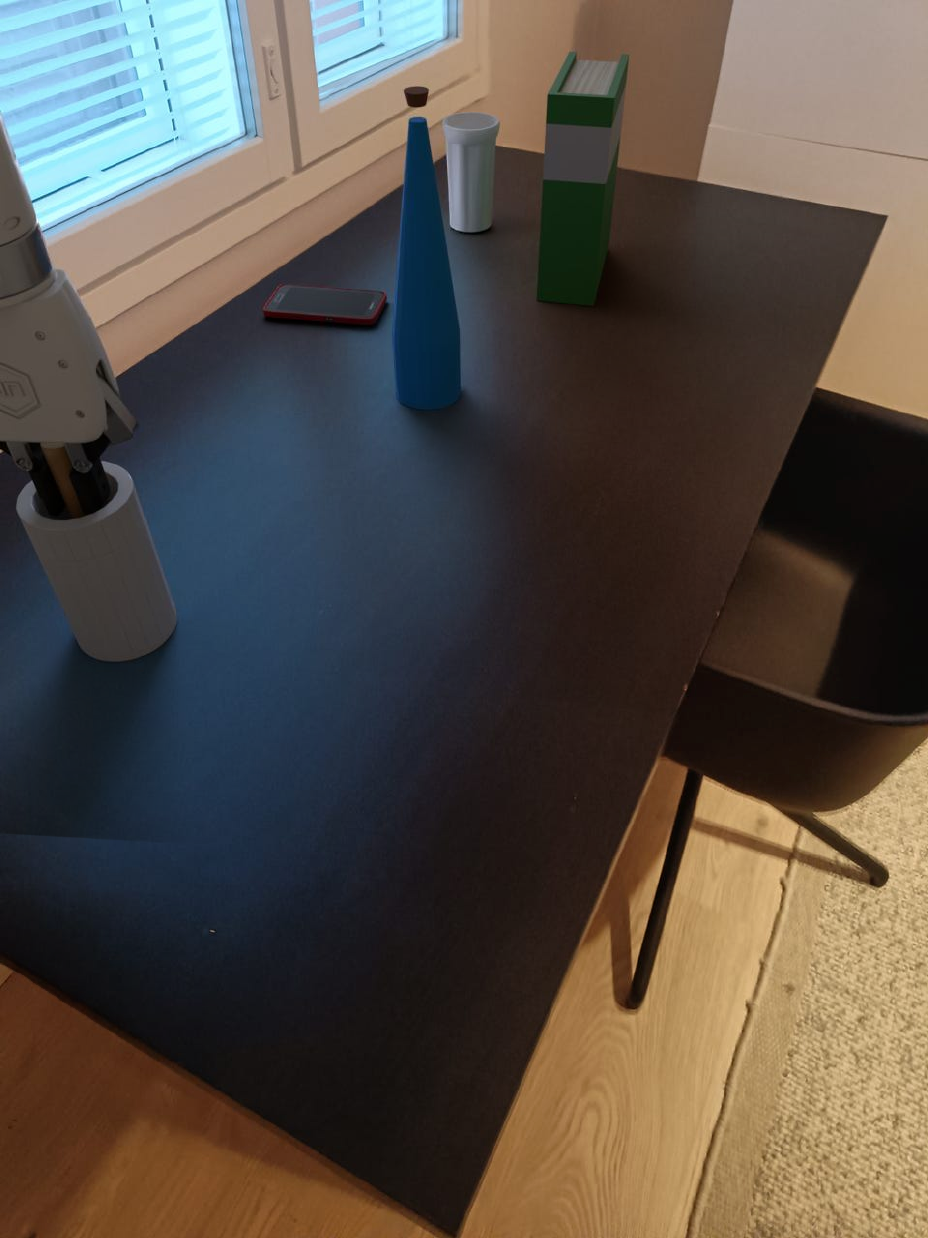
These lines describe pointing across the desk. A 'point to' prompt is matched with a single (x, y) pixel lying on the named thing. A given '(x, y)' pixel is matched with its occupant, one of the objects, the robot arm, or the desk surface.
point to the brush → (62, 476)
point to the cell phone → (325, 304)
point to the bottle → (424, 282)
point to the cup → (470, 168)
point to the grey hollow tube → (104, 571)
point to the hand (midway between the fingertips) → (79, 503)
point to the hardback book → (579, 177)
